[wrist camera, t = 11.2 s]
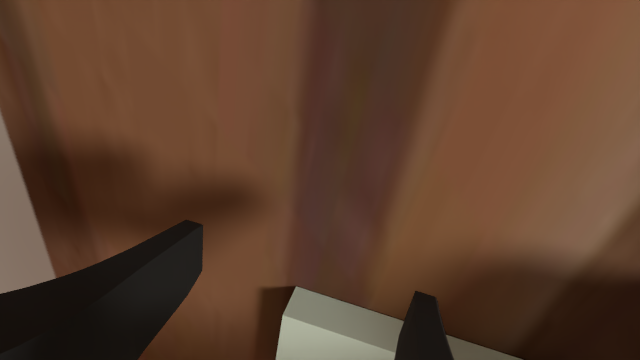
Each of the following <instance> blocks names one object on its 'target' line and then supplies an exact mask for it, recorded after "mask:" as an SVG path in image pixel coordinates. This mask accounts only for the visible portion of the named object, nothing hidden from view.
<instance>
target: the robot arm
mask: <svg viewBox="0 0 640 360" xmlns="http://www.w3.org/2000/svg"><path fill="white" fill-rule="evenodd" d="M202 250H203V225H202V224H199V223H195V222H192V221H189V220H185V221H183V222H181V223H179V224H177V225H175V226H173V227H171V228H169V229H167V230H166V231H164V232H162V233H160V234H158V235H156V236H154V237H152V238H150V239H148V240H146V241H144V242H142V243H140V244H138V245H136V246H134V247H132V248H130V249H128V250H126V251H124V252H122V253H119V254H117V255H115V256H113V257H111V258H108V259H106V260H104V261H102V262H100V263H97V264H95V265H92V266H90V267H87V268H85V269H82V270H79V271H76V272H74V273H71V274H68V275H65V276H62V277H59V278H56V279H53V280H50V281H46V282H43V283H40V284H37V285H33V286H30V287H26V288H22V289H19V290H14V291H10V292H7V293H2V294H0V360H137V359H138V358H139V357H140V355H141V354H142V353H143V351H144V350H145V348H146V347H147V346H148V345H149V343H150V342H151V341H152V340H153V338H154V337H155V336H156V335H157V333H158V332H159V331H160V330H161V328H162V327H163V326H164V325H165V323H166V322H167V321H168V319H169V318H170V317H171V316H172V314H173V313H174V312H175V311H176V309H177V308H178V307H179V305H180V304H181V303H182V302H183V300H184V299H185V298H186V296H187V295H188V293H189V292H190V290H191V288H192V287H193V285H194V284H195V282H196V280H197V278H198V277H199V275H200V273H201V271H202ZM394 360H454V358H453V355H452V352H451V349H450V346H449V343H448V340H447V337H446V333H445V330H444V326H443V323H442V319H441V315H440V310H439V306H438V301H437V299H436V297H434V296H431V295H427V294H424V293H421V292H418V291H415V293H414V296H413V299H412V301H411V304H410V307H409V309H408V312H407V315H406V318H405V320H404V323H403V326H402V328H401V331H400V334H399V338H398V343H397V348H396V353H395V359H394Z"/></svg>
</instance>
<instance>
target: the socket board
mask: <svg viewBox="0 0 640 360" xmlns="http://www.w3.org/2000/svg"><path fill="white" fill-rule="evenodd" d="M403 323H404V321H402V320H399V319H396V318H393V317H390V316H387V315H383V314H380V313H377V312H374V311H371V310H368V309H365V308H362V307H359V306H356V305H352V304H349V303H346V302H343V301H340V300H337V299H334V298H331V297H328V296H325V295H321V294H318V293H315V292H312V291H309V290H306V289H303V288H300V287H297V286H296V288H295V290H294V292H293V294H292V296H291V298H290V301H289V303H288V305H287V307H286V309H285V311H284V313H283V316H282V323H281V329H280V336H279V342H278V348H277V355H276V360H394V359H395V353H396V348H397V343H398V338H399V334H400V331H401V328H402V326H403ZM446 337H447V340H448V343H449V346H450V349H451V352H452V355H453V358H454V360H523V359H520V358H517V357H514V356H510V355H507V354H504V353H501V352H498V351H495V350H492V349H489V348H486V347H483V346H479V345H476V344H473V343H470V342H467V341H464V340H461V339H458V338H455V337H452V336H448V335H446Z"/></svg>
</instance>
